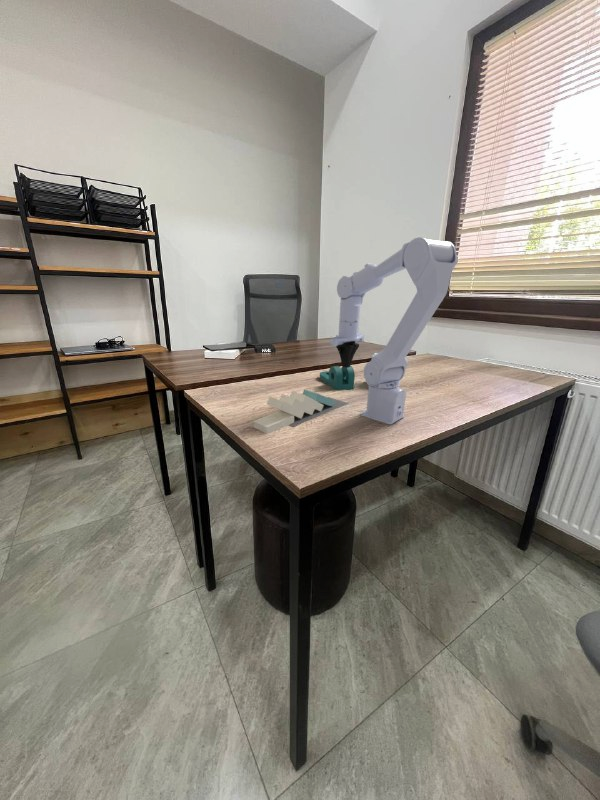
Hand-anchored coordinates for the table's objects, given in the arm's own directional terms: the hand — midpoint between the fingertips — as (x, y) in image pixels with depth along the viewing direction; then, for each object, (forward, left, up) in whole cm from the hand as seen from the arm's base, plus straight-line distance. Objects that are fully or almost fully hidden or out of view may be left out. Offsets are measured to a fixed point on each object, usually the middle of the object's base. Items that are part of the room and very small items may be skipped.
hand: (345, 366), depth 94 cm
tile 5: (0, +25, -9) cm, 27 cm away
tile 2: (0, +14, -9) cm, 17 cm away
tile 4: (0, +22, -9) cm, 23 cm away
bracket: (+13, -12, -11) cm, 21 cm away
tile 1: (0, +8, -9) cm, 12 cm away
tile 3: (0, +17, -9) cm, 20 cm away
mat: (0, +15, -10) cm, 18 cm away
